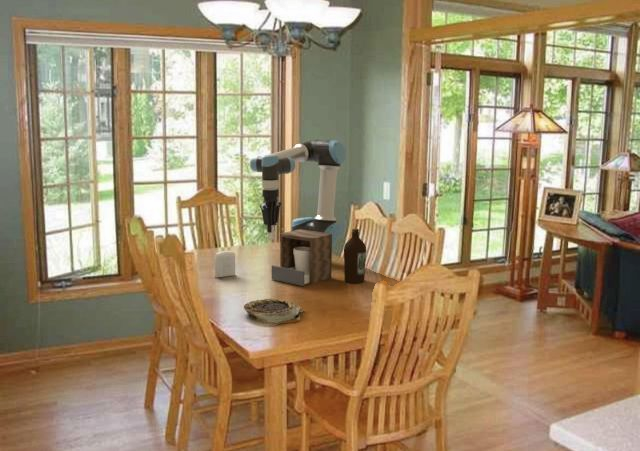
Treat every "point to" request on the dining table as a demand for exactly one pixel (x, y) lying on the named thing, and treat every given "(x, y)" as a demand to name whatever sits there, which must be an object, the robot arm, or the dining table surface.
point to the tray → (290, 275)
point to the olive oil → (354, 259)
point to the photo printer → (224, 264)
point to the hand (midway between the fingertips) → (271, 238)
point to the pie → (272, 310)
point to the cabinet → (318, 252)
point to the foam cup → (302, 259)
